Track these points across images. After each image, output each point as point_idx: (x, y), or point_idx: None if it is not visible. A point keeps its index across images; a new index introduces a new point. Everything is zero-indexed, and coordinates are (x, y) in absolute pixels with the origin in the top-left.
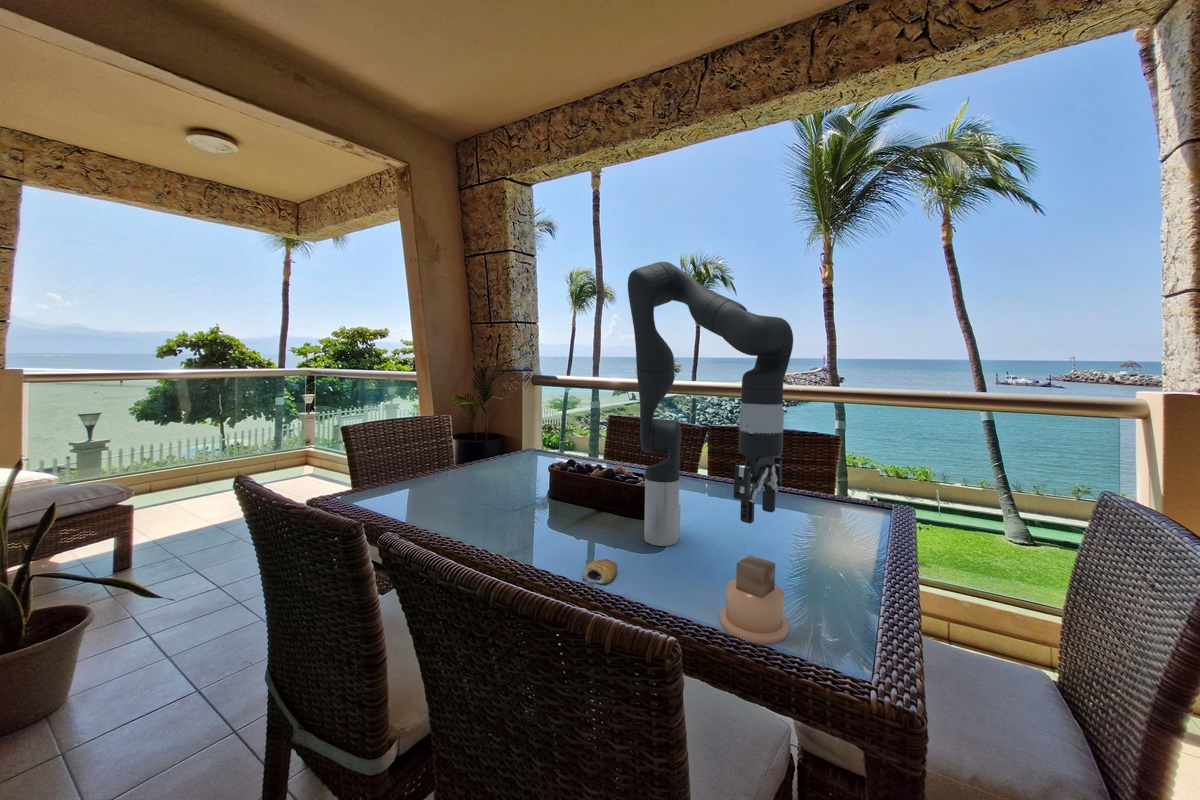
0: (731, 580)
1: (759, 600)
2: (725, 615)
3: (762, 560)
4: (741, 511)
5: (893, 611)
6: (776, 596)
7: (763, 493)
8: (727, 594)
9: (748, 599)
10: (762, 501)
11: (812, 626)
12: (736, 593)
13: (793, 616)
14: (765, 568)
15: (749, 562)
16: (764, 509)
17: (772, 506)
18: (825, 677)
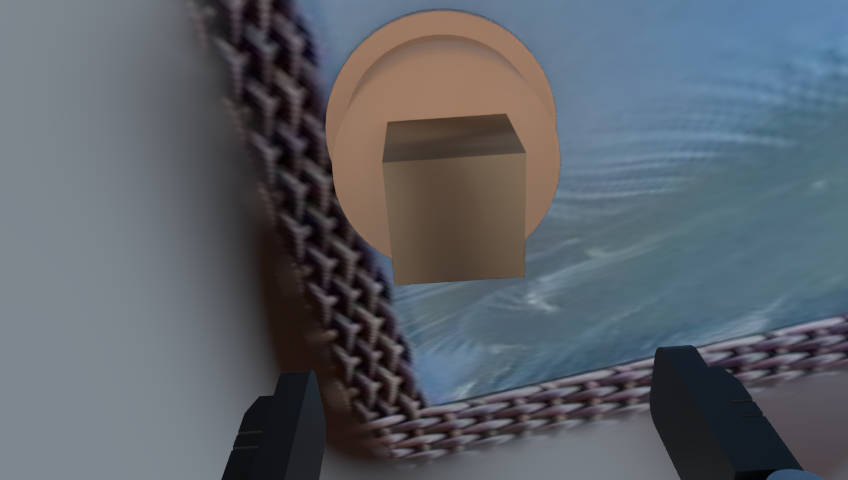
0: (444, 60)
1: (376, 230)
2: (375, 57)
3: (507, 227)
4: (235, 450)
5: (818, 346)
6: None
7: (722, 460)
8: (359, 92)
9: (350, 200)
10: (686, 393)
11: (570, 244)
12: (353, 146)
13: (590, 182)
14: (430, 279)
15: (434, 202)
16: (658, 363)
17: (667, 442)
18: (363, 351)
